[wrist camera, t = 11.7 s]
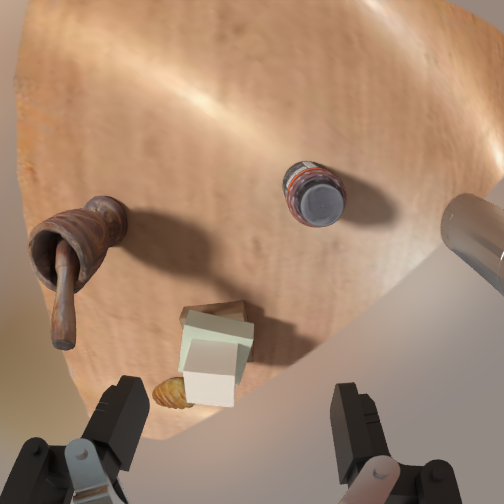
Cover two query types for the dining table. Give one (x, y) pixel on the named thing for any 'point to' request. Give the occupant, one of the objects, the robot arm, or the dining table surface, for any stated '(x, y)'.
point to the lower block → (221, 314)
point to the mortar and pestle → (73, 257)
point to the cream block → (211, 373)
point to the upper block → (217, 336)
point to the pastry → (171, 394)
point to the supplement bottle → (314, 194)
